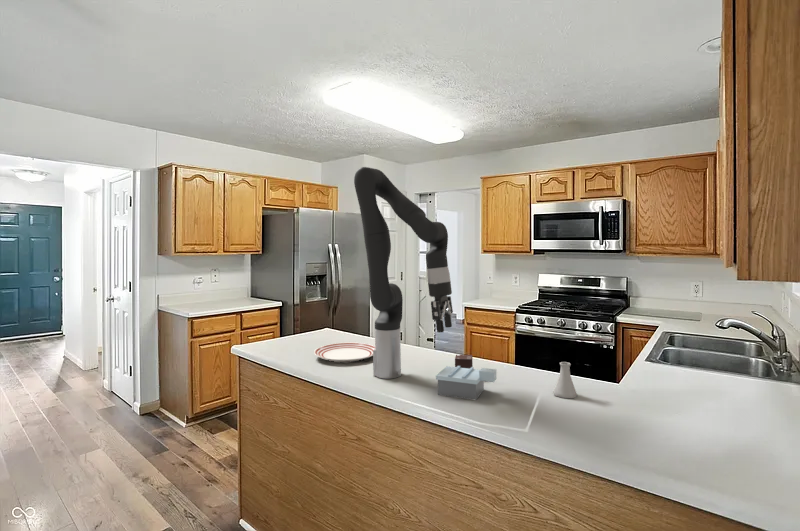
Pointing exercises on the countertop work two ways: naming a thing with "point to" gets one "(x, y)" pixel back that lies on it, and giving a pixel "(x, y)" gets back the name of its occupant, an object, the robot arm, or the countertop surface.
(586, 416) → the countertop surface
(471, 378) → the lid
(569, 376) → the flask
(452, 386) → the tub
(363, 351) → the dinner plate
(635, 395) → the countertop surface
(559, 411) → the countertop surface
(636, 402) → the countertop surface
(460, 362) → the box
